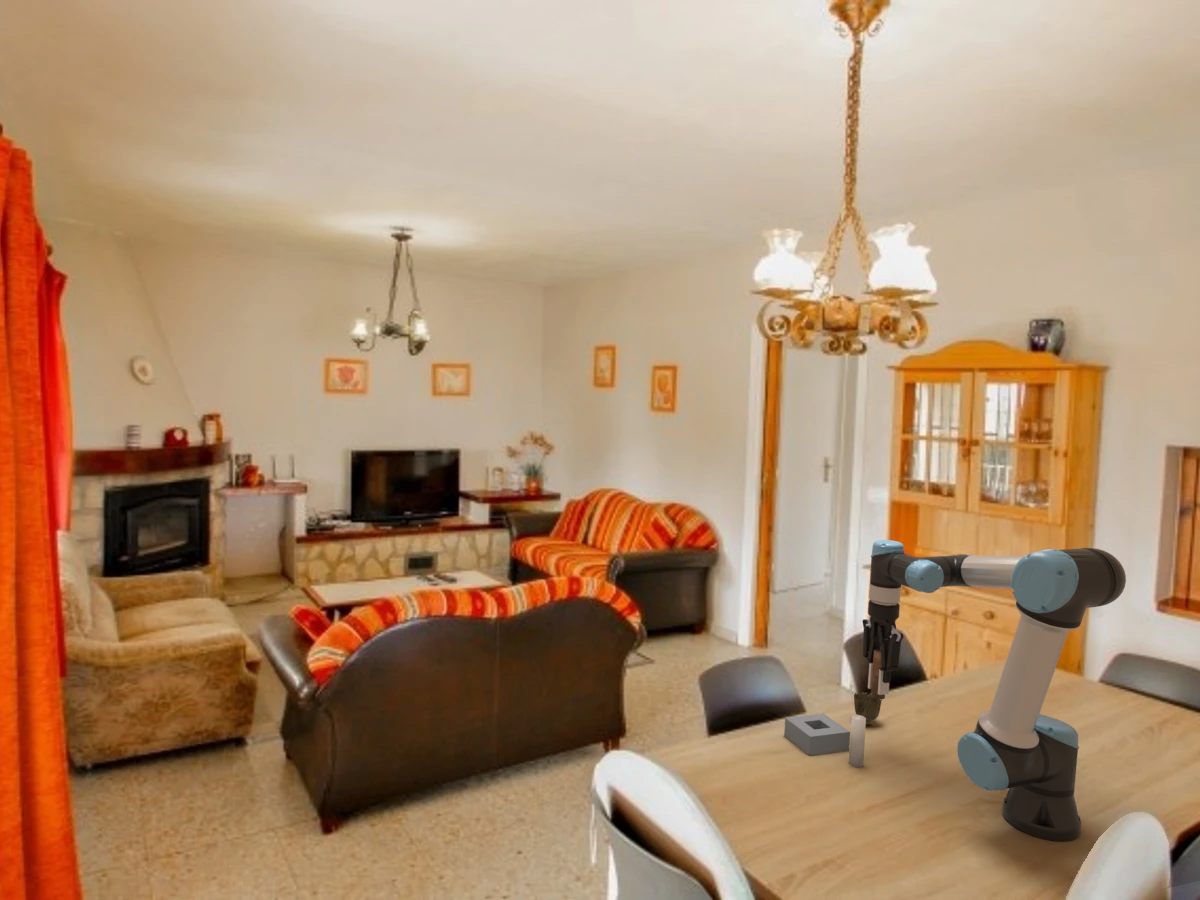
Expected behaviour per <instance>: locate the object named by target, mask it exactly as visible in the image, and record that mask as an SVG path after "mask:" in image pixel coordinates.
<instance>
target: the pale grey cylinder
mask: <svg viewBox="0 0 1200 900" xmlns="http://www.w3.org/2000/svg"><path fill="white" fill-rule="evenodd" d="M866 727H867V726H866V718H865V717H864V716H861V715H856V714H852V716H851V722H850V745H849V755H848V756H849V757H848V758H849V759H848V764H849V766H851V767H854V768H862V767H864V756H865V755H864V754H865V739H866Z"/></svg>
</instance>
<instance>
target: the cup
mask: <svg viewBox="0 0 1200 900" xmlns="http://www.w3.org/2000/svg"><path fill="white" fill-rule="evenodd" d="M853 700H854V702H853V703H854V713H855V715H861V716H864V717H865V718H866V727H870V726H873V725H874V721H875V720H876V719H877V718H878V717H879V714H880V711H881V705H882V701H883V699H875V698H873V697H871V692H869V694H868V692H866V691H865V692H863V691H861V693H860V692H857V693H856V692H855V693H854V694H853Z"/></svg>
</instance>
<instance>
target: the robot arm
mask: <svg viewBox="0 0 1200 900" xmlns="http://www.w3.org/2000/svg"><path fill="white" fill-rule="evenodd" d="M870 558H871V559H870V575H869V578H870V579H869V589H868V599H869V600H868V606H867V614H868V616H870V617H869V618H867V619H862V627H863V640H862V641H863V648H862V649H863V650H862V652H863V653H862V656H863V657H864V659H867V662H868V668H867V672H868V679H867V689H868V690H871V686H872V671H873V656H874V649H881V659H882V668H879V682H878V694H879V695H884V694H885V695H889V692H890V683H891V679H892V677H891V676H892V671H897V670H898V669H899V660H900V654H901V645H902V640H903V639H904V634H903V633H902V632H900V633H899V631H898V630H897V626H896V625H897V624H896V621H897V620H898V619H899V618H900V608H901V605H900V602H901V590H902V589H901V588H902V586H904V587H906V588H910V589H912V590H913V591H916V592H922V593H924V594H925V593H926V594H932V593H933V594H934V593H935V592H936V591H937V590H939V589H940V588H946V587H966V588H967V587H969V588H974V587H975V588H976V587H977V588H988V589H989V588H990V589H1003V590H1004V589H1006V590H1013V591H1012V592H1011V593H1012V595H1013V598H1014V599H1015V601H1016V602H1015V607H1016V610H1017V611H1018V613H1020V616H1019V620H1018V623H1017V626H1016V629H1015V632H1014V636H1013V639H1012V641H1011V643H1010V644H1011V645H1010V648H1009V651H1008V655H1007V657H1006V660H1005V663H1004V665H1003V670H1002V672H1001V675H1000V678H999V682H998V685H997V688H996V691H995V693H994V697H993V700H992V704H991V706H990V709H989V710H987V711H983V712H981V714H980V715H979V716H978V718H977V722H976V725H975V729H974V731H973V732H971V731H970V732H966V733H965V734H963V735H962V736H960V738H959V739H958V741H957V748H956V749H957V751H956V752H957V757H958V760H959V763H960V765H961V768H962V770H963V771H964V774H965V775H966V777H968V779H969V780H970V781H971V782H972V783H973V784H974V785H975V786H977V787H978V788H980V789H982V790H984V791H991V792H992V791H994V792H995V791H1005V790H1008V791H1007V792H1006V795H1005V798H1004V799H1003V802H1002V810H1001V814H1002V816H1003V818H1004V819H1005V821H1006V822H1008V824H1009V825H1011V826H1012V827H1014V828H1015V829H1017V830H1019V831H1021V832H1023V833H1026V834H1028V835H1030V836H1033V837H1036V838H1038V839H1039V838H1040V839H1043V840H1044V839H1045V840H1048V841H1057V842H1068V841H1074V840H1076V839H1078V838H1079V837H1080V836H1081V832H1082V820H1081V817H1080V816H1079V812H1078V808H1077V803H1076V799H1075V786H1076V775H1077V764H1078V752H1079V749H1080V746H1079V733H1078V732H1077V730H1076V729H1075V727H1073V726H1072V725H1070V724H1069V723H1066V722H1065V721H1063V720H1059V719H1058V718H1055V717H1051V716H1048V715H1044V714H1041V711H1042V707H1043V705H1044V702H1045V700H1046V696H1047V694H1048V691H1049V688H1050V685H1051V683H1052V679H1053V677H1054V673H1055V671H1056V668H1057V666H1058V665H1057V664H1058V661H1059V659H1060V656H1061V654H1062V651H1063V648H1064V646H1065V643H1066V639H1067V636H1068V632H1070V631H1074V630H1077V629H1079V628H1080V626H1081V624H1082V621H1083V620H1084V616H1085V613H1086V611H1087V609H1089V608H1097V607H1098V608H1099V607H1103V606H1106V605H1109V604H1111V603H1113V602H1115V601H1116V600H1118V598H1119V597H1120V596H1121V595H1122V594H1123V592H1124V590H1125V588H1126V582H1127V575H1126V571H1125V569H1124V567H1123V565H1122V563H1121V562H1120V561H1119V560H1118V559H1117V557H1115V556H1114V555H1113V554H1111V553H1109V552H1108V551H1105V550H1103V549H1099V548H1094V547H1082V548H1068V549H1053V548H1051V549H1049V548H1048V549H1047V548H1046V549H1043V550H1039V551H1033V552H1030V553H1028V554H1025V555H980V554H979V555H973V554H965V553H963V554H962V553H961V554H955V555H954V554H953V555H937V556H921V557H919V556H913V555H911V554H910V555H909V554H907V553H905V545H904V544H903V543H902V542H901V541H896V540H890V539H878V540H876V541H874V542H873V544H872V549H871V555H870Z"/></svg>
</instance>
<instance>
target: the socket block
mask: <svg viewBox="0 0 1200 900" xmlns="http://www.w3.org/2000/svg"><path fill="white" fill-rule="evenodd" d="M783 736H784V737H785V738H786V739H787V740H789V741H790V740H791V741H792V742H791V741H790V742H791V743H792V744H794V745H795V746H796V745H797V746H796V747H798V748H799V749H800V750H801V751H802V752H804V753H805V754H807V755H808V756H811V757H812V756H816V755H817V756H818V755H825V754H832V753H840V752H846V751H847V752H848V751H850V737H851V730H849V729H847V728H845V727H844V726H842V725H841V724H839V723H838V722H837V721H836V720H834V719H832V718H831V717H829V716H828V715H826V714H825V713H817V714H809V715H806V714H805V715H797V716H790V717H788V716H787V717H785V718H784V734H783Z"/></svg>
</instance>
